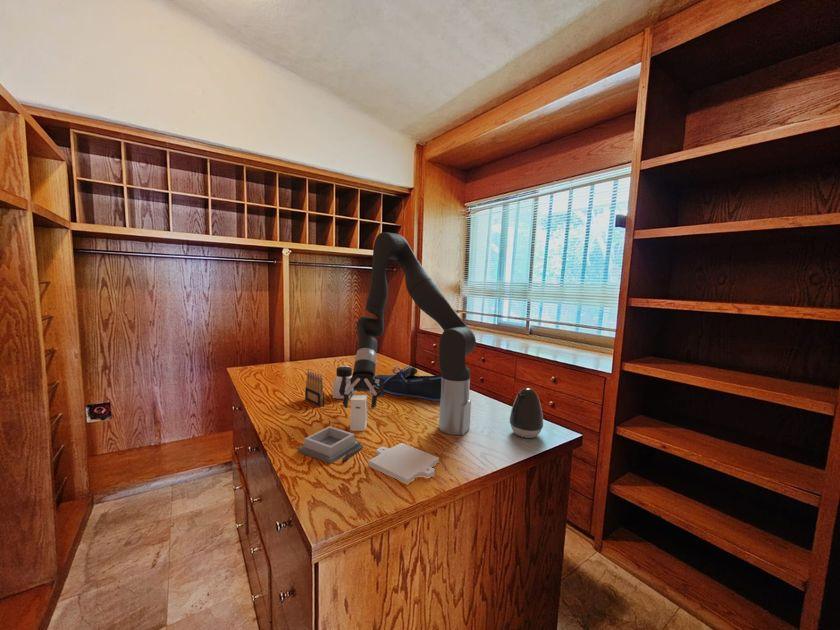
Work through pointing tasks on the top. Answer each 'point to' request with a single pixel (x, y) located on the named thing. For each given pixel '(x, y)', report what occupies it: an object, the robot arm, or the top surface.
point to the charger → (358, 413)
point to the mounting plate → (403, 462)
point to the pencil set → (314, 389)
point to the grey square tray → (329, 444)
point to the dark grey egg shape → (526, 414)
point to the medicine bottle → (340, 374)
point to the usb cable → (352, 452)
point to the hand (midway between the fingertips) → (359, 407)
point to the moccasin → (411, 384)
